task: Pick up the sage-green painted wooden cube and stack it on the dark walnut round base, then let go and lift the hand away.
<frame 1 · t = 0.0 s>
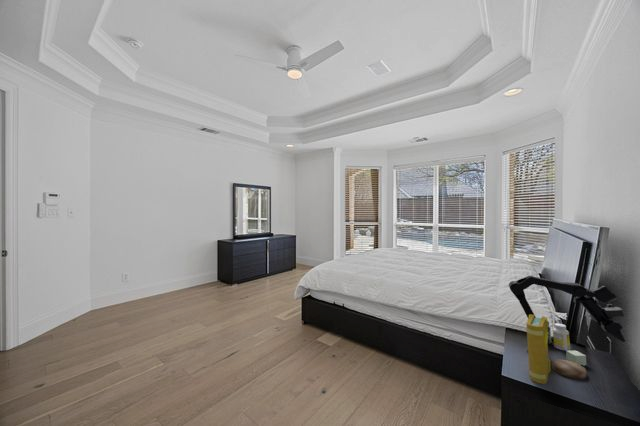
hand: (619, 337, 124), 15 cm above the nightstand, tool tilted 35°, fingers open, 9 cm apart
sage block: (576, 363, 130), on the nightstand
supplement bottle: (562, 348, 145), on the nightstand
supplement container: (539, 341, 154), on the nightstand
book: (539, 374, 122), on the nightstand
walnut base: (568, 371, 123), on the nightstand
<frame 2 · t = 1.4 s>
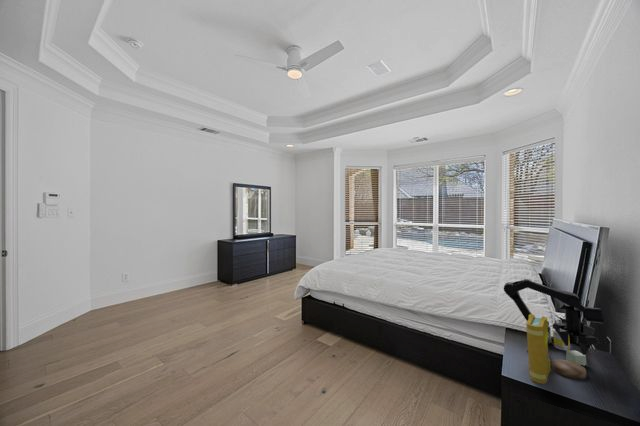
hand: (575, 350, 130), 6 cm above the nightstand, tool pointing down, fingers open, 9 cm apart
nothing on the nightstand moved.
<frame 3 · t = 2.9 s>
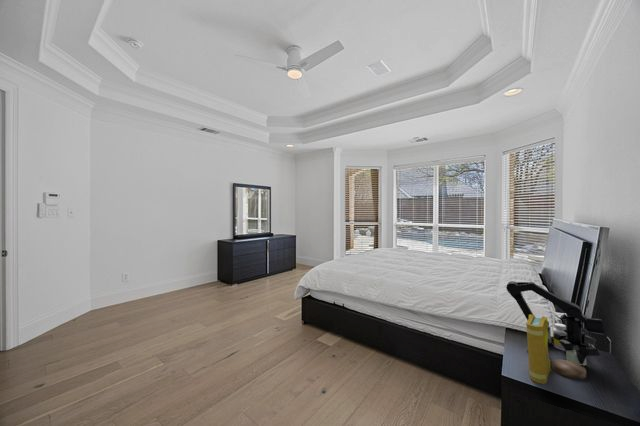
hand: (576, 360, 130), 1 cm above the nightstand, tool pointing down, fingers closed on sage block, 5 cm apart
sage block: (576, 362, 130), on the nightstand, touching gripper
everything else where it was.
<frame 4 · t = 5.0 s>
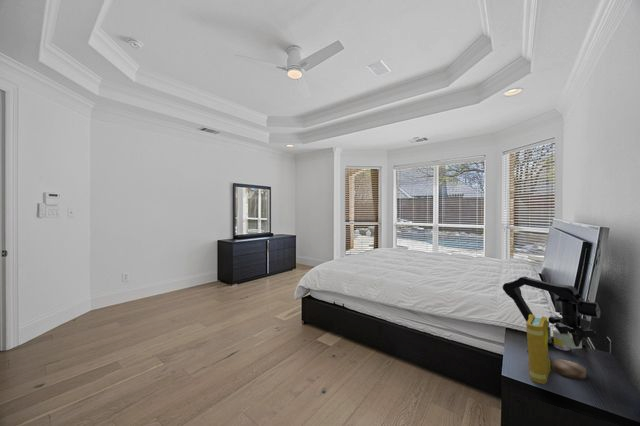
hand: (571, 343, 127), 11 cm above the nightstand, tool pointing down, fingers closed on sage block, 5 cm apart
sage block: (571, 346, 127), point 10 cm above the nightstand, touching gripper
everything else where it was.
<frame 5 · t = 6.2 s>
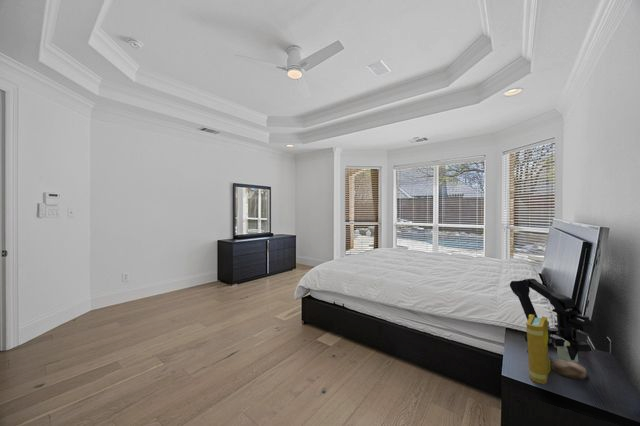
hand: (567, 357, 124), 7 cm above the nightstand, tool pointing down, fingers closed on sage block, 5 cm apart
sage block: (567, 359, 124), point 6 cm above the nightstand, touching gripper
everything else where it was.
when the fingers open (5 cm above the nightstand, at t = 7.3 s): sage block drops 1 cm, resting on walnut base.
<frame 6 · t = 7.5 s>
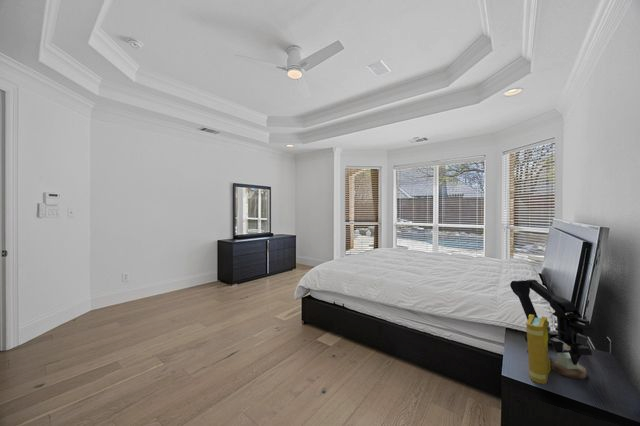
hand: (567, 360, 123), 5 cm above the nightstand, tool pointing down, fingers open, 7 cm apart
sage block: (568, 365, 123), point 2 cm above the nightstand, touching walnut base
everything else where it was.
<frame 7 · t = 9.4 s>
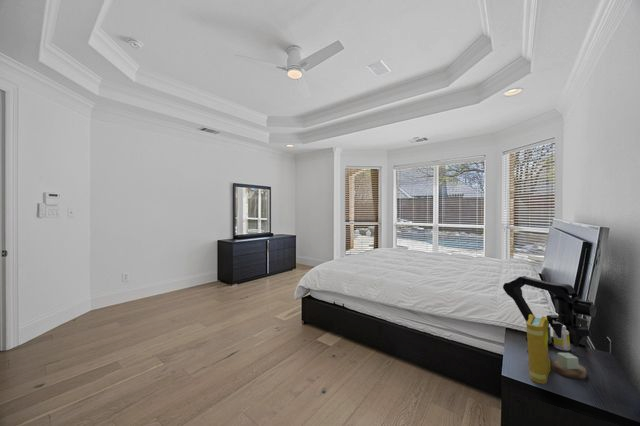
hand: (567, 342, 127), 12 cm above the nightstand, tool pointing down, fingers open, 9 cm apart
nothing on the nightstand moved.
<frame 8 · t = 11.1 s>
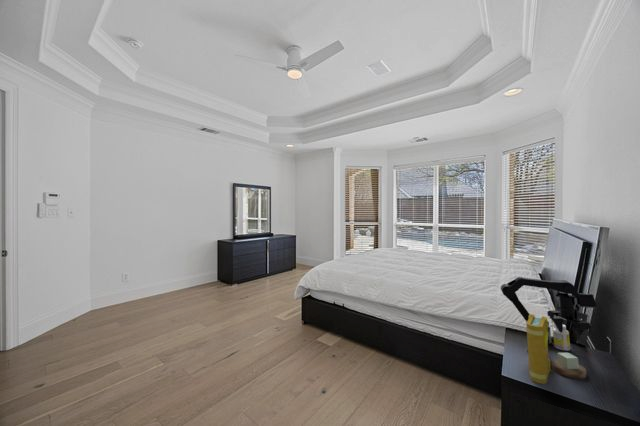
hand: (569, 336, 133), 12 cm above the nightstand, tool pointing down, fingers open, 9 cm apart
nothing on the nightstand moved.
at the end: sage block 0.1 cm off-centre on the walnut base, point 2.5 cm above the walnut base's base; sage block tilted 0°; the gripper is holding nothing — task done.
